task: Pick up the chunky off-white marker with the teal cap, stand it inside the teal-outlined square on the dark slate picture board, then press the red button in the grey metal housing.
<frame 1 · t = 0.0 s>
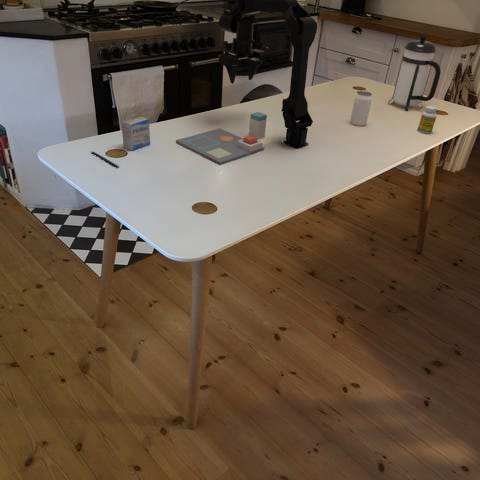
hand: (241, 81, 169), 15 cm above the table, fingers open, 9 cm apart
done button: (250, 140, 153), point 3 cm above the table, slide at 0.0 cm
marker: (256, 136, 165), on the table
coffee press: (407, 107, 208), on the table
can: (357, 123, 184), on the table
medicine box: (137, 146, 151), on the table
supplement bottle: (424, 132, 182), on the table
picture board: (219, 146, 155), on the table
pencil: (104, 161, 141), on the table
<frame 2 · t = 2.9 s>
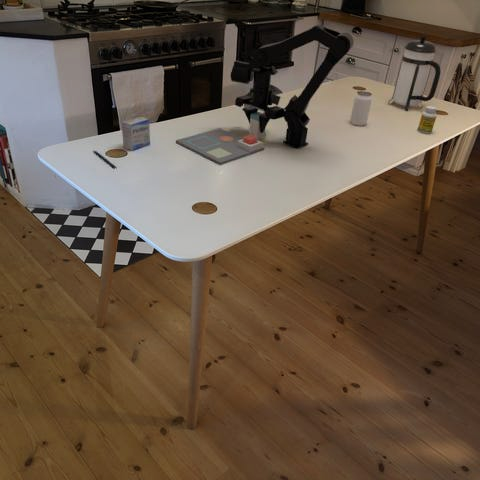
hand: (257, 130, 164), 2 cm above the table, fingers closed on marker, 4 cm apart
marker: (256, 136, 165), on the table, touching gripper
everything else where it was.
when the fingers open (4 cm above the table, at t = 9.3 s): marker drops 1 cm, resting on picture board.
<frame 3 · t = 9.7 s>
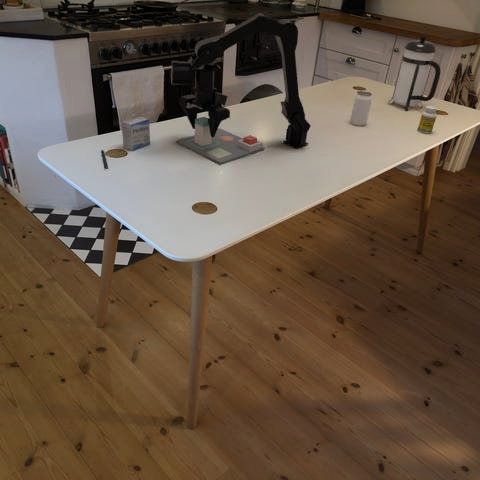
hand: (203, 132, 153), 4 cm above the table, fingers open, 9 cm apart
marker: (203, 142, 155), point 1 cm above the table, touching picture board
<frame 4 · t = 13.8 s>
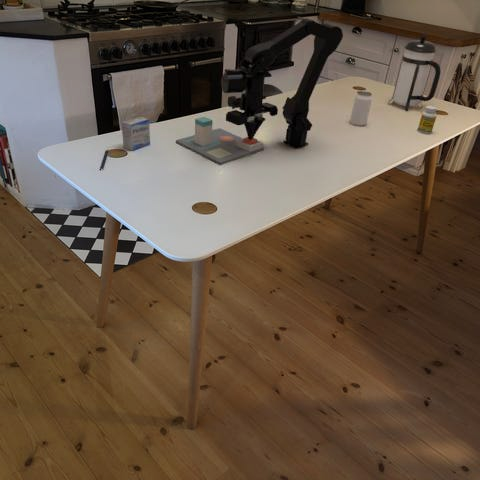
hand: (250, 138, 153), 4 cm above the table, fingers closed, pressing on done button
done button: (249, 141, 154), point 3 cm above the table, slide at 0.4 cm, touching gripper
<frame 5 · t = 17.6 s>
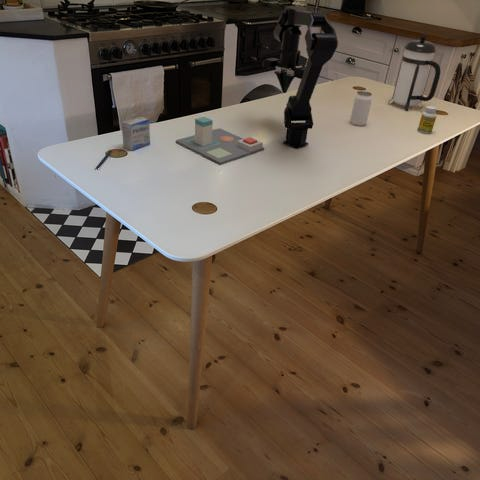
hand: (284, 92, 167), 13 cm above the table, fingers closed
done button: (249, 142, 154), point 2 cm above the table, slide at 0.7 cm
at the end: marker 0.0 cm from the target spot, point 0.8 cm above the table; marker tilted 0°; done button slide at 0.7 cm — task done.
